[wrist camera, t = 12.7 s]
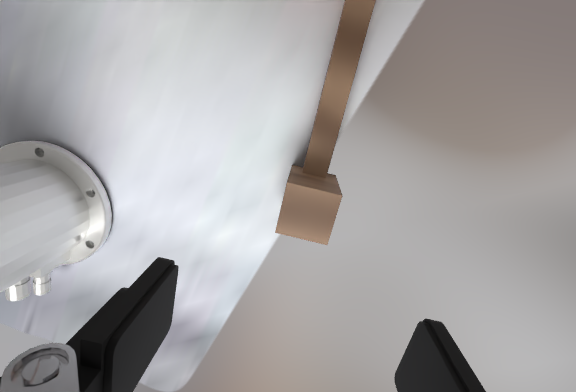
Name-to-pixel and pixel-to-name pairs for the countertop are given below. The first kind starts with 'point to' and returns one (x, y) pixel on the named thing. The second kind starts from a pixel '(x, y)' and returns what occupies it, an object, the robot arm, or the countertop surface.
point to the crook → (325, 136)
